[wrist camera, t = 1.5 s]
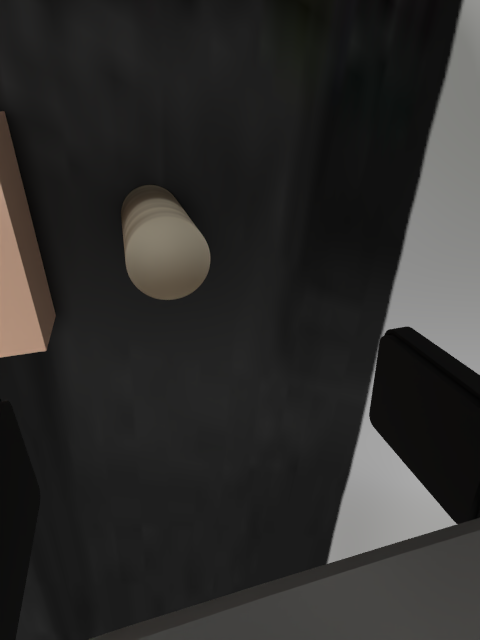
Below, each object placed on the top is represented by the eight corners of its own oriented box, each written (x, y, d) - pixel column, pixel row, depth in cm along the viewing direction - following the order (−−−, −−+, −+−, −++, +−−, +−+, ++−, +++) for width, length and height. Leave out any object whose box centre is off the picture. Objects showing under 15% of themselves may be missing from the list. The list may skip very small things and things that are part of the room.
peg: (116, 186, 27) (119, 222, 18) (178, 182, 28) (208, 215, 19) (125, 246, 29) (132, 304, 20) (183, 240, 30) (212, 294, 21)
